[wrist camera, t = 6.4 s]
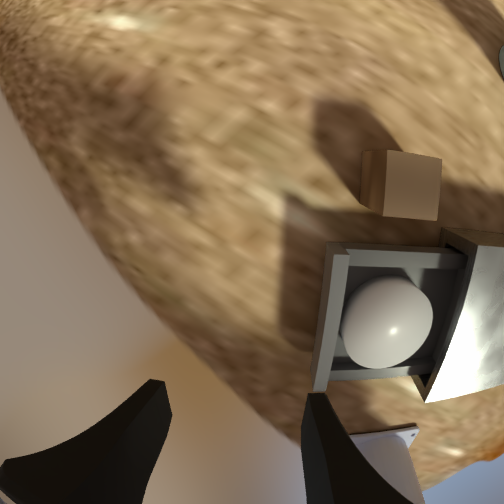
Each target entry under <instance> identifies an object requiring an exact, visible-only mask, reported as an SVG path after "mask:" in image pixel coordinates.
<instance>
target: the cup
mask: <svg viewBox="0 0 504 504" xmlns="http://www.w3.org/2000/svg"><path fill="white" fill-rule="evenodd" d="M499 62H500V68H501V72H502V75H503V77H504V45H503V46H502V48H501V50H500V53H499Z"/></svg>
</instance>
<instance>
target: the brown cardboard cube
mask: <svg viewBox="0 0 504 504" xmlns="http://www.w3.org/2000/svg"><path fill="white" fill-rule="evenodd" d="M441 172H442V159H439V158H434V157H429V156H424V155H418V154H413V153H407V152H401V151H394V150H375V151H363V152H362V171H361V189H360V204H362V205H364V206H365V207H367V208H369V209H371V210H373V211H375V212H376V213H378V214H380V215H382V216H388V217H400V218H411V219H422V220H432V221H437V215H438V207H439V197H440V186H441Z"/></svg>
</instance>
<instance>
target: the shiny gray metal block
mask: <svg viewBox="0 0 504 504" xmlns="http://www.w3.org/2000/svg"><path fill="white" fill-rule="evenodd" d="M439 248H455V249H458V250H460V251H461V252H463V253H465V254H466V255H468V261H467V266H466V270H465V274H464V279H463V283H462V287H461V290H460V294H459V298H458V301H457V305H456V308H455V311H454V315H453V318H452V321H451V324H450V327H449V330H448V333H447V336H446V339H445V341H444V344H443V347H442V349H441V352H440V355H439V357H438V360H437V362H436V365H435V367H434V370H433V372H432V373H428V374H420V375H412V376H411V377H412V379H413V381H414V383H415V385H416V387H417V389H418V391H419V393H420V395H421V397H422V399H423V401H424V403H428V402H433V401H438V400H443V399H448V398H453V397H457V396H461V395H466V394H470V393H474V392H477V391H481V390H485V389H488V388H492V387H495V386H498V385H502V384H504V234H501V233H493V232H484V231H476V230H466V229H457V228H447V227H442V229H441V236H440V242H439Z"/></svg>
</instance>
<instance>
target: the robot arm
mask: <svg viewBox="0 0 504 504" xmlns="http://www.w3.org/2000/svg"><path fill="white" fill-rule="evenodd" d="M171 418H172V412H171V408H170V403H169V399H168V395H167V390H166V386H165V382H164V381H159V380H153V379H149V380H148V381H147V382H146V383H145V384H144V385H143V386H141V387H140V388H139V389H138V390H137V391H136V392H135V393H133V394H132V396H130V397H129V398H128V399H127V400H125V401H124V402H123V403H122V404H121V405H120V406H118V407H117V408H116V409H115V410H114V411H112V412H111V413H110V414H108V415H107V416H106V417H104V418H103V419H102V420H100V421H99V422H97V423H96V424H95V425H93V426H92V427H90V428H89V429H87V430H86V431H84V432H82V433H80V434H79V435H77V436H75V437H74V438H71V439H69V440H67V441H65V442H63V443H61V444H58V445H57V446H54V447H52V448H49V449H46V450H43V451H40V452H37V453H34V454H30V455H26V456H22V457H17V458H11V459H6V460H5V461H4V463H3V464H2V465H1V467H0V490H1V491H2V492H3V493H4V494H6V496H8V497H9V498H10V499H11V500H12V501H13V502H15V503H16V504H142V501H143V498H144V494H145V490H146V486H147V483H148V481H149V478H150V475H151V473H152V471H153V468H154V466H155V464H156V461H157V459H158V457H159V454H160V452H161V449H162V447H163V444H164V442H165V440H166V437H167V433H168V430H169V426H170V423H171ZM419 430H420V429H419V427H418V426H415V427H410V428H404V429H397V430H391V431H384V432H376V433H367V434H357V435H348V433H347V432H346V430H345V429H344V427H343V425H342V424H341V422H340V420H339V419H338V417H337V415H336V413H335V411H334V409H333V408H332V406H331V404H330V401H329V399H328V397H327V395H326V394H325V393H308V396H307V401H306V406H305V411H304V416H303V420H302V425H301V452H302V461H303V470H304V478H305V487H306V496H307V504H425V501H424V498H423V494H422V491H421V488H420V484H419V481H418V478H417V475H416V471H415V468H414V465H413V462H412V459H411V456H410V453H409V450H408V448H409V446H410V445H411V443H412V442H413V440H414V438H415V437H416V435H417V434H418V432H419ZM0 504H7V503H5V502H4V501H3V500H2V499H1V498H0Z"/></svg>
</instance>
